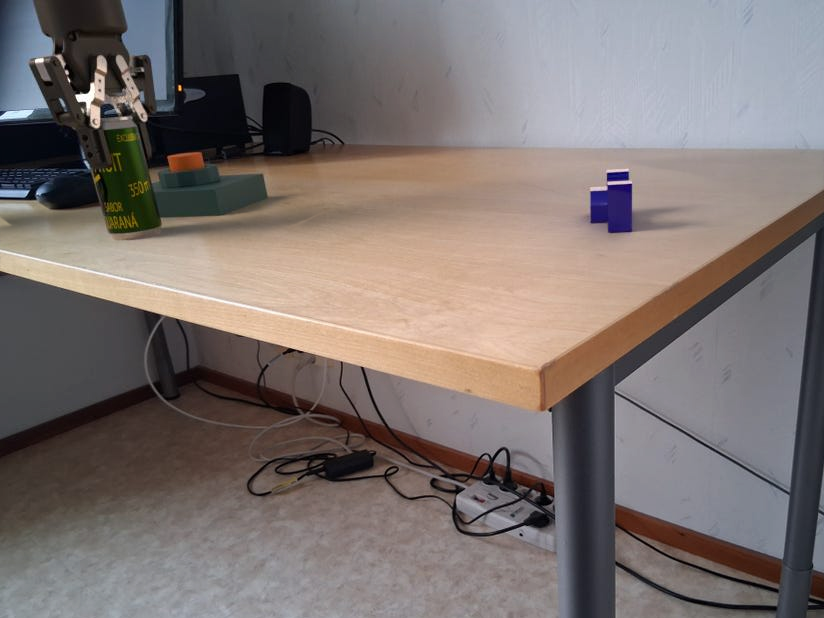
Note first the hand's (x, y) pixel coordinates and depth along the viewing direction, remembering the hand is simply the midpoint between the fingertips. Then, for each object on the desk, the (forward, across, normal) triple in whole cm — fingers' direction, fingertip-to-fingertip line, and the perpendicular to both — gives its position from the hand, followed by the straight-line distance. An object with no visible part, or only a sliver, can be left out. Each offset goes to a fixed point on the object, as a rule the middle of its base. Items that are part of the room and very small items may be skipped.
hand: (122, 163), depth 72 cm
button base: (+7, -14, -3) cm, 16 cm away
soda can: (+8, 0, -1) cm, 8 cm away
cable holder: (+8, 0, +50) cm, 51 cm away
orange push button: (+3, -14, -3) cm, 15 cm away
